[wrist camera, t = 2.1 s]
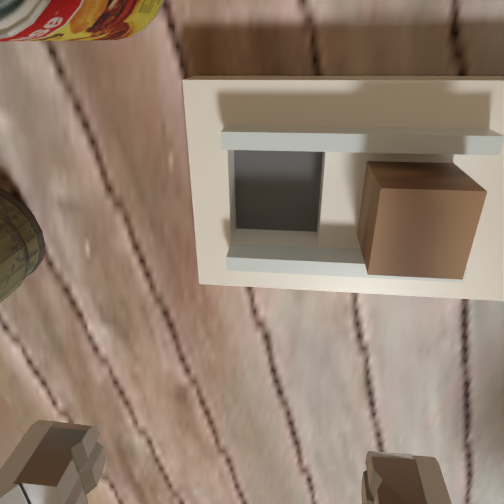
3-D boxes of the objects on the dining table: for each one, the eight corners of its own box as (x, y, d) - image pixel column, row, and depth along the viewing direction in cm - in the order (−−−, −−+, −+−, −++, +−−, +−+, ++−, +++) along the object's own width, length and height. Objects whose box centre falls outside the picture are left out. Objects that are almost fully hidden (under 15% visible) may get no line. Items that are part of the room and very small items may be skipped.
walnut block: (453, 162, 24) (487, 191, 19) (435, 238, 26) (462, 279, 22) (366, 160, 24) (380, 188, 20) (357, 235, 27) (367, 274, 22)
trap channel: (616, 75, 23) (688, 84, 19) (537, 280, 30) (577, 322, 25) (194, 75, 26) (172, 83, 21) (207, 263, 32) (192, 299, 28)
